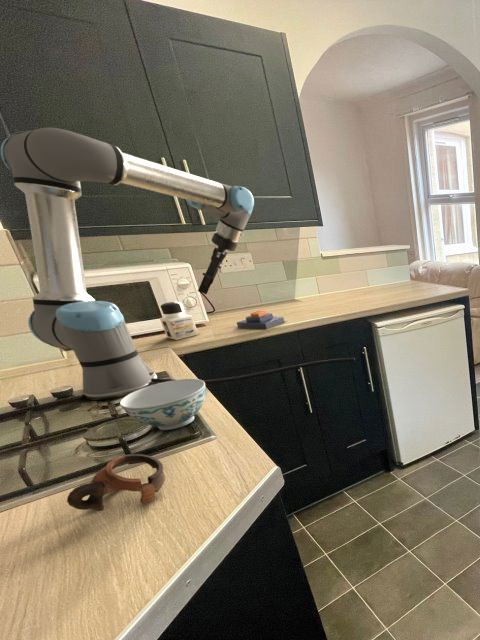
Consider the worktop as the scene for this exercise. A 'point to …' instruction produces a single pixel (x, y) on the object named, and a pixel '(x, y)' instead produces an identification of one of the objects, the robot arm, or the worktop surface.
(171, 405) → the chinaware
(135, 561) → the worktop surface
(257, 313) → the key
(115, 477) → the brown curved ring piece
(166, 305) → the container
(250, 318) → the blue orange stepped pyramid
